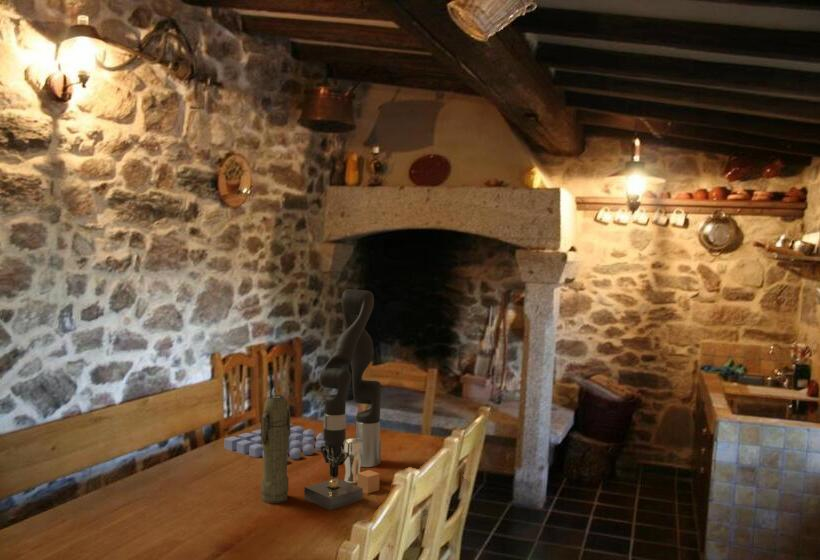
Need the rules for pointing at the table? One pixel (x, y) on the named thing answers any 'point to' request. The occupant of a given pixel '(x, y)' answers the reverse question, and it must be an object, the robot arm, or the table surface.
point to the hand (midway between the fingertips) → (333, 476)
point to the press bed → (333, 494)
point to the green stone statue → (275, 449)
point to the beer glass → (352, 459)
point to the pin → (333, 484)
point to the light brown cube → (368, 481)
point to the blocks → (296, 441)
